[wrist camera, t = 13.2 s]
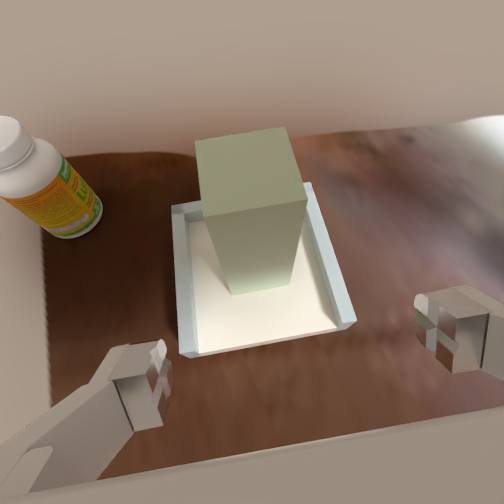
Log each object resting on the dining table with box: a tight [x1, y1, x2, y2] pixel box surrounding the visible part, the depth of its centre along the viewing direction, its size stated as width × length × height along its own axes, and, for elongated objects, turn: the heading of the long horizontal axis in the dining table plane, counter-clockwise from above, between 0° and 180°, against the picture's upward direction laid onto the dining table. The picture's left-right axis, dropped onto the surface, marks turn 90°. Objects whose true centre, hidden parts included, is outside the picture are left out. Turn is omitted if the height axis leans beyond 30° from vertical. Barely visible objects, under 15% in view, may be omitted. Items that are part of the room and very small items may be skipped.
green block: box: [195, 126, 308, 296], centre depth 18 cm, size 4×4×11 cm
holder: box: [171, 182, 357, 358], centre depth 23 cm, size 12×12×3 cm
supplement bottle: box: [0, 116, 103, 239], centre depth 23 cm, size 5×5×10 cm
